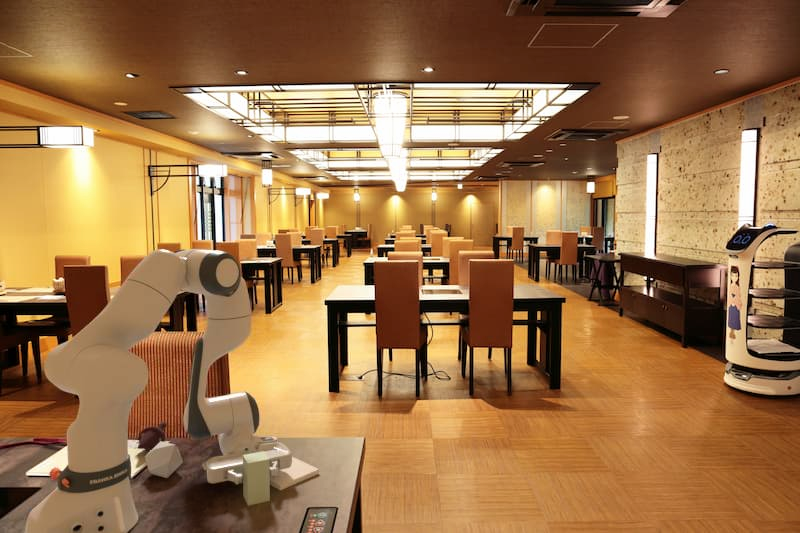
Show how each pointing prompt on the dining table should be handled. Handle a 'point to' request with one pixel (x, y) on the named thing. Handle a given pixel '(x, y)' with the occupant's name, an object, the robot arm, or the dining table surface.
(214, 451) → the dining table surface
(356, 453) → the dining table surface
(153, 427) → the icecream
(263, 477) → the green block
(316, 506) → the dining table surface
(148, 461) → the die
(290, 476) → the cream tile
